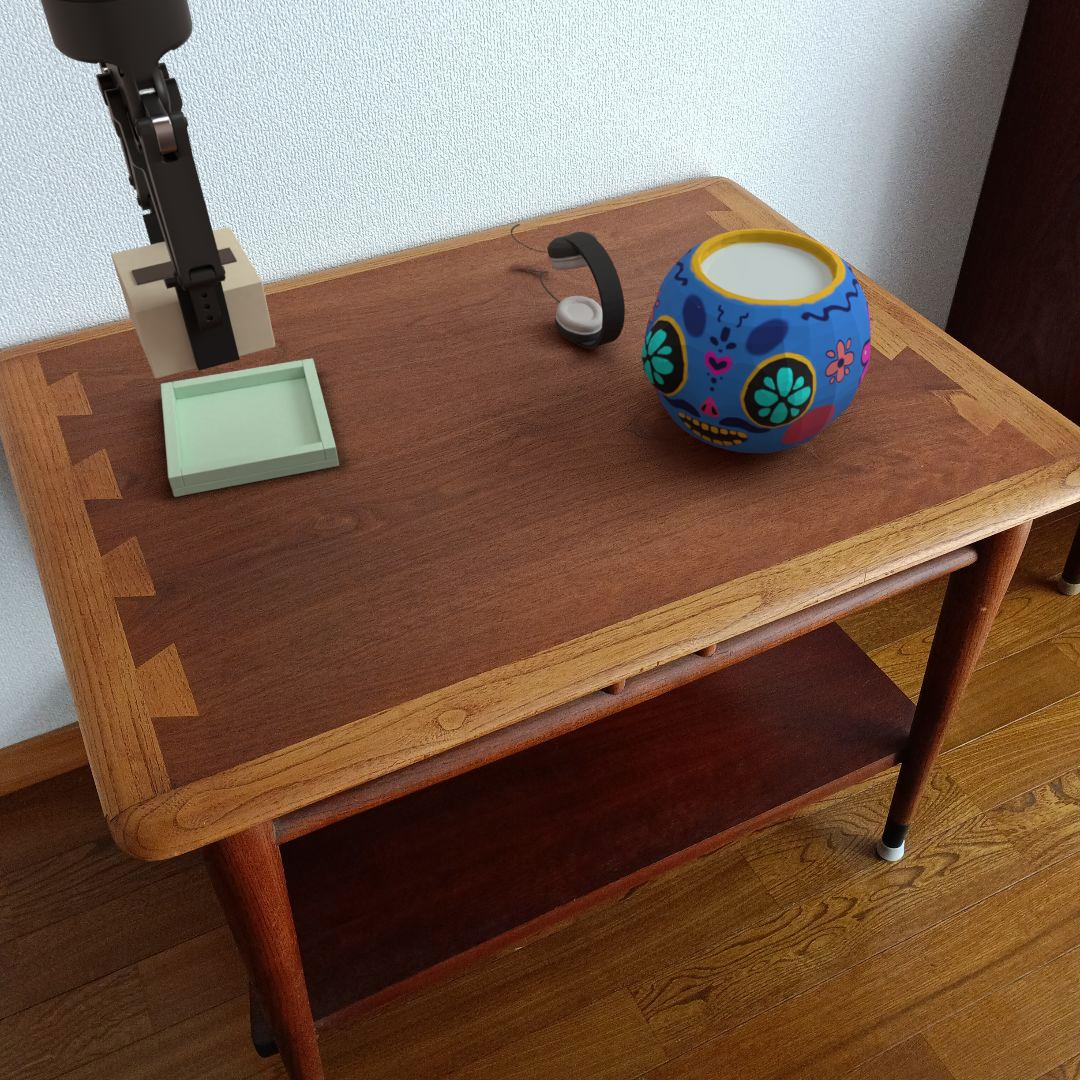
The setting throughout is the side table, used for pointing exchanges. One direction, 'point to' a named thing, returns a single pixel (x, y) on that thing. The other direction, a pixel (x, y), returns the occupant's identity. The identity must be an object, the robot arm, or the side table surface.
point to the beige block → (161, 309)
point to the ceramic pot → (757, 340)
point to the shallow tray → (245, 427)
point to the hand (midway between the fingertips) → (201, 328)
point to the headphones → (580, 313)
